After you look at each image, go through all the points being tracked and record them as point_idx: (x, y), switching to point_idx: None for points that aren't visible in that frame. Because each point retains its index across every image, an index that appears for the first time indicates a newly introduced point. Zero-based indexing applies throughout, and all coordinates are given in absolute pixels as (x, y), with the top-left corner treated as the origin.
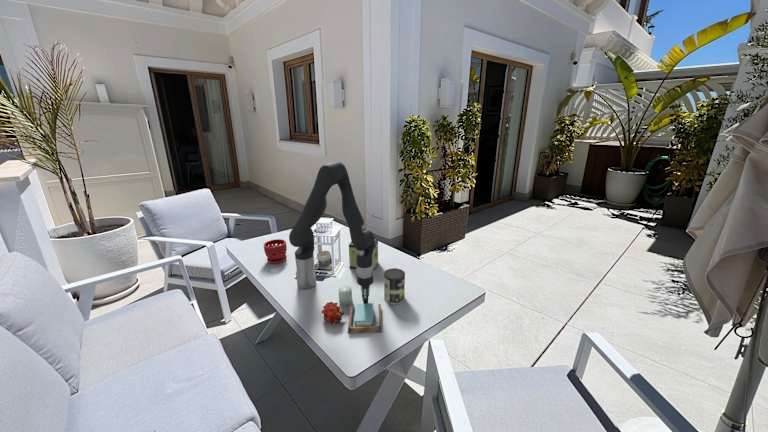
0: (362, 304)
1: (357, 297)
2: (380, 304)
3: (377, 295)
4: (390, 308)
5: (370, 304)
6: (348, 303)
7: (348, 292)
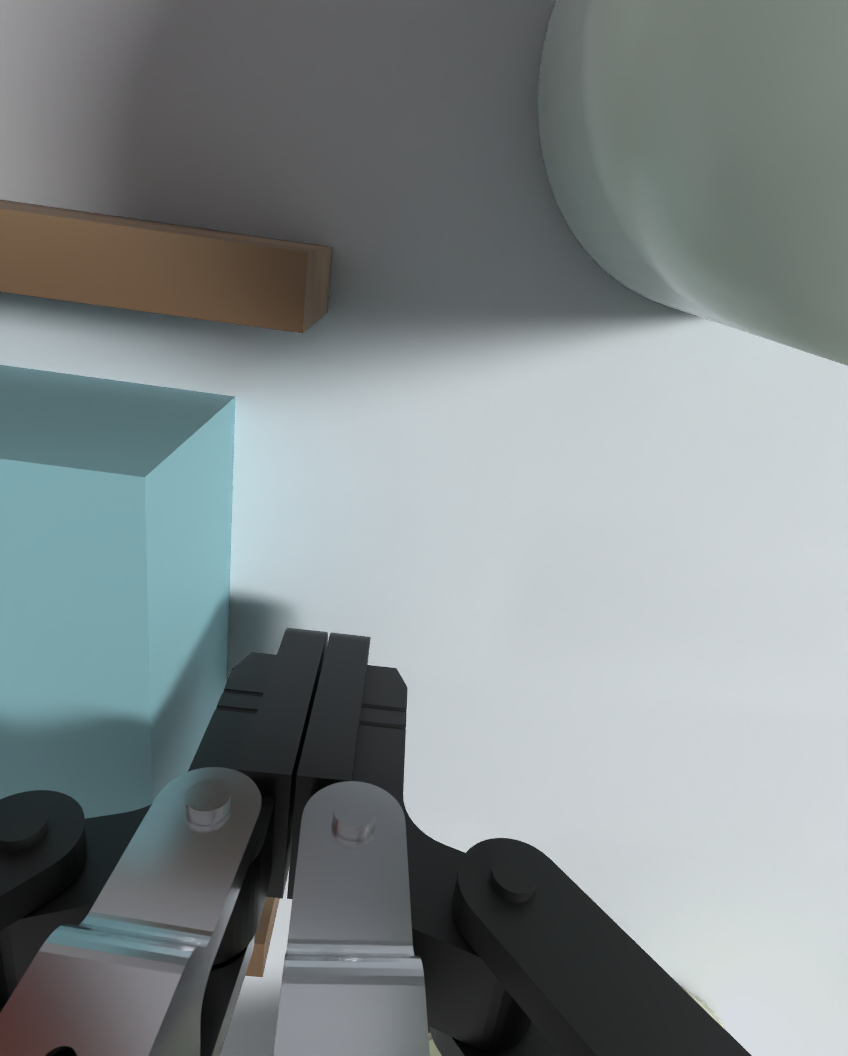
0: (88, 678)
1: (831, 472)
2: (248, 973)
3: (731, 874)
4: (271, 997)
5: None
6: (557, 176)
7: (749, 164)
